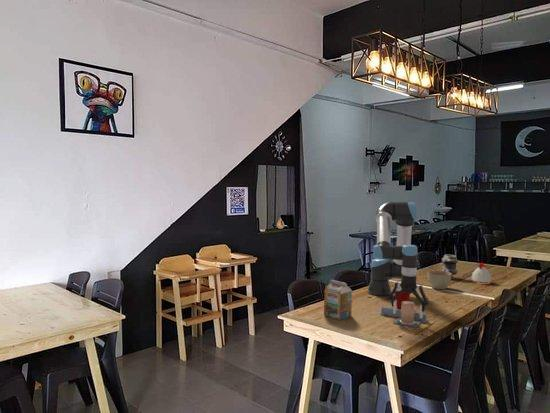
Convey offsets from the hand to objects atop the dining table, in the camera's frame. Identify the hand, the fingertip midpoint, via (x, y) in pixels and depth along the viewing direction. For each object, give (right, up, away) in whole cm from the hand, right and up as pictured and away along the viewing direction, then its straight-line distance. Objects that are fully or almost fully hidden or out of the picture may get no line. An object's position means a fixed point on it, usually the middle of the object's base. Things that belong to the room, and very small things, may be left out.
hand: (407, 315), depth 222 cm
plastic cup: (+5, -3, +27) cm, 27 cm away
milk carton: (-35, -3, +10) cm, 37 cm away
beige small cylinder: (0, -3, 0) cm, 3 cm away
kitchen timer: (+86, -1, +98) cm, 131 cm away
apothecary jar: (+67, 0, +111) cm, 130 cm away
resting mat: (0, -4, 0) cm, 4 cm away
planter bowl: (+46, -1, +78) cm, 91 cm away
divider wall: (0, -4, +8) cm, 9 cm away
